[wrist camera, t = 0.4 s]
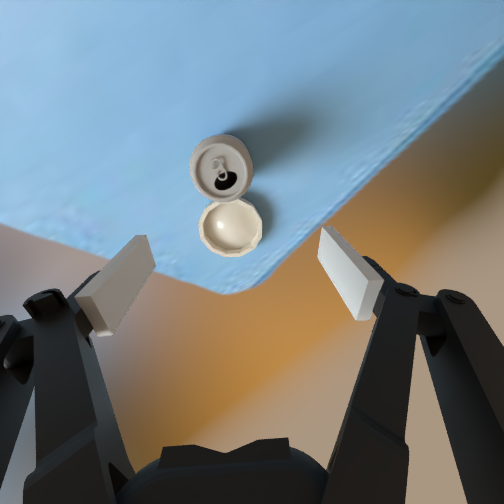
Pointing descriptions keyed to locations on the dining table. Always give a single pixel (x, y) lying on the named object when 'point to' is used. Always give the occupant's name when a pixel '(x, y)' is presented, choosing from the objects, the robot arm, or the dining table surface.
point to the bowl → (230, 227)
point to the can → (221, 168)
